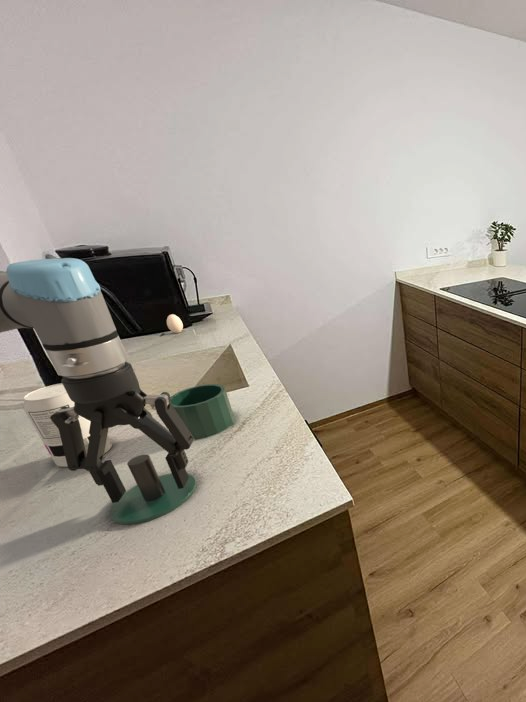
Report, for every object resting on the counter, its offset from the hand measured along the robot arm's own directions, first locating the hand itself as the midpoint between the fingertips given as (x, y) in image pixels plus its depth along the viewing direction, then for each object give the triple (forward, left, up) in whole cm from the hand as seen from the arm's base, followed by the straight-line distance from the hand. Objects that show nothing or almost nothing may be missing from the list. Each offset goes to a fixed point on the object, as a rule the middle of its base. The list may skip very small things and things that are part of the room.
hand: (152, 489), depth 63 cm
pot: (+2, +23, -2) cm, 23 cm away
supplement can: (-19, +20, -3) cm, 27 cm away
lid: (0, 0, -2) cm, 2 cm away
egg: (-28, +105, -3) cm, 109 cm away
